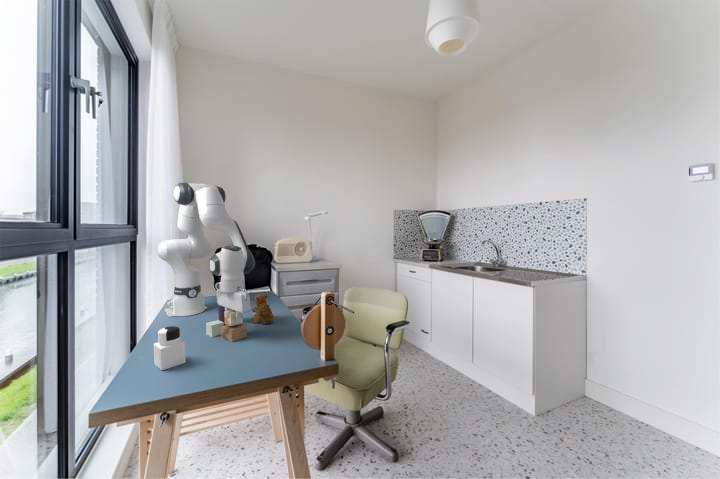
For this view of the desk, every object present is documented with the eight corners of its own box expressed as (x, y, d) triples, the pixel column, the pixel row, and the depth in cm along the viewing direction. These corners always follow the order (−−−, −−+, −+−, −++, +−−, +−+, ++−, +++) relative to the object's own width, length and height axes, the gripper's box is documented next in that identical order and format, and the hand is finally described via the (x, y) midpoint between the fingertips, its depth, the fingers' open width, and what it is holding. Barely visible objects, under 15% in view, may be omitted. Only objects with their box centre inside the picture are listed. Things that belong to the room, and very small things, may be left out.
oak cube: (224, 323, 119) (224, 311, 119) (236, 320, 123) (236, 308, 123) (230, 326, 116) (230, 313, 116) (242, 322, 120) (242, 310, 120)
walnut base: (221, 339, 119) (220, 326, 119) (236, 333, 125) (236, 322, 125) (231, 342, 115) (231, 330, 115) (246, 336, 121) (246, 325, 121)
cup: (229, 326, 133) (228, 293, 132) (214, 326, 133) (213, 293, 132) (235, 321, 140) (235, 290, 139) (221, 321, 140) (220, 290, 139)
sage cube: (206, 334, 123) (205, 323, 123) (218, 331, 127) (217, 320, 127) (211, 337, 120) (211, 325, 120) (223, 333, 124) (223, 322, 124)
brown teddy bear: (268, 316, 148) (267, 290, 147) (280, 323, 137) (279, 295, 137) (248, 320, 142) (247, 293, 141) (258, 328, 131) (258, 299, 130)
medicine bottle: (177, 356, 102) (176, 323, 102) (186, 363, 98) (184, 327, 97) (153, 364, 97) (152, 328, 96) (161, 371, 92) (160, 333, 92)
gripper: (254, 287, 115) (254, 322, 116) (228, 281, 128) (228, 312, 128) (239, 290, 110) (239, 326, 111) (213, 283, 123) (214, 316, 124)
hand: (233, 319), depth 120 cm, fingers closed on oak cube, 5 cm apart
